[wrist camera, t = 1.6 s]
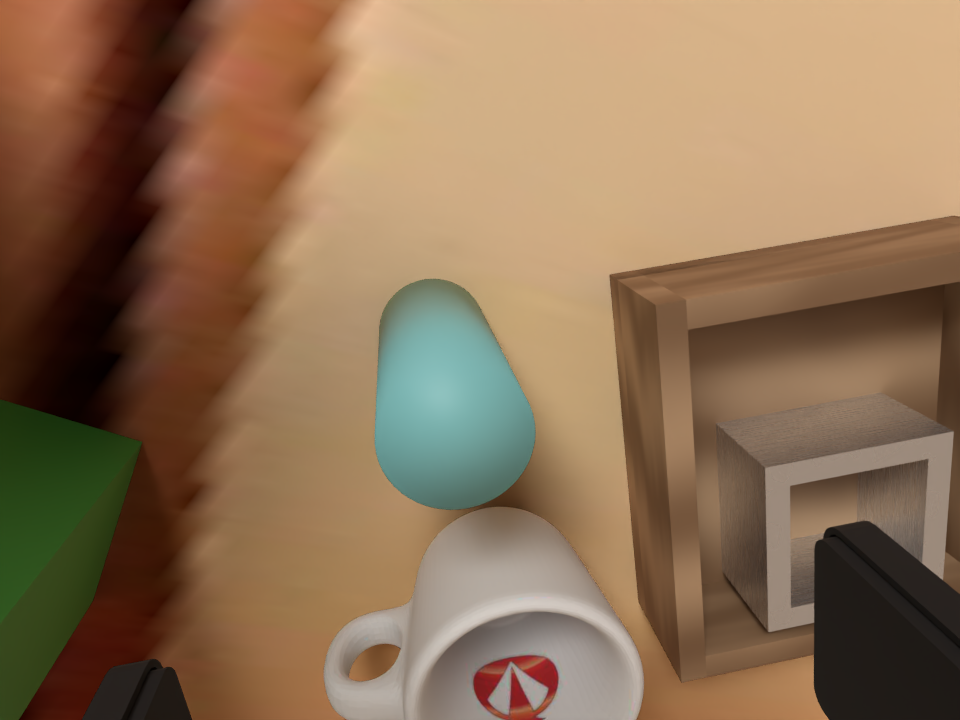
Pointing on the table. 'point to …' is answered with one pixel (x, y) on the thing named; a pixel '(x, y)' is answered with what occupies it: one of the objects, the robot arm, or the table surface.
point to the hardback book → (51, 537)
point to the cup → (493, 634)
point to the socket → (815, 456)
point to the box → (770, 404)
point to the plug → (447, 400)
